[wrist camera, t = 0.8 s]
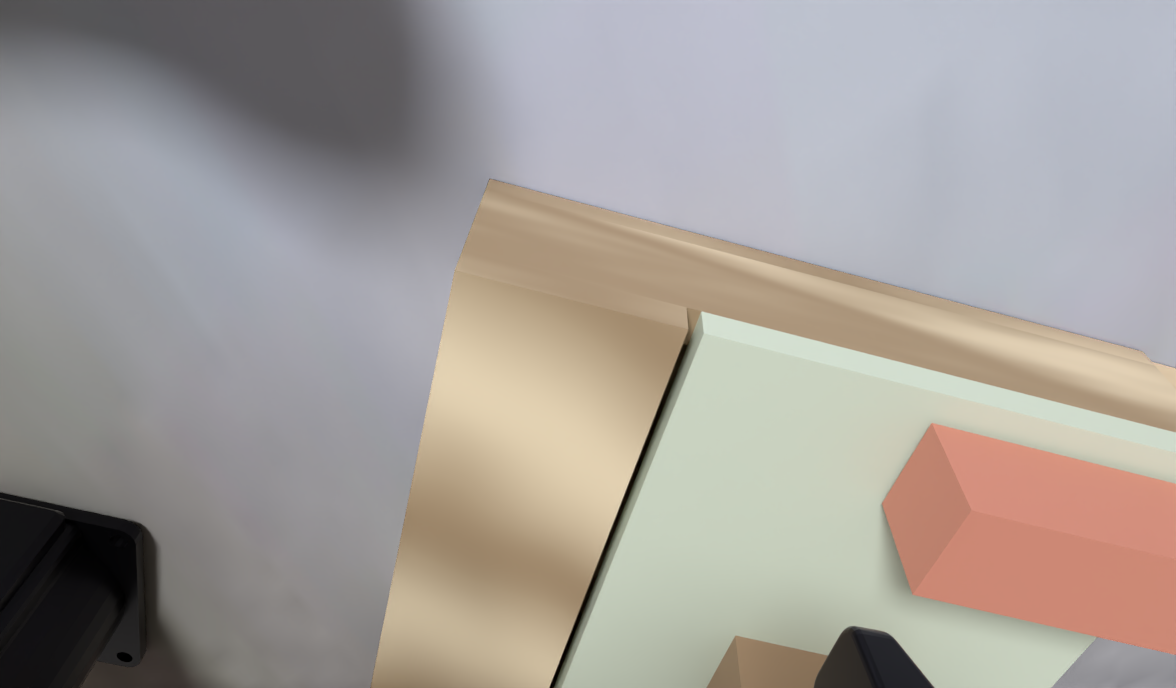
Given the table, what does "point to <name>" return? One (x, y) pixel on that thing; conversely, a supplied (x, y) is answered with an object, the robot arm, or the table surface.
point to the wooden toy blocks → (631, 410)
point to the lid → (810, 521)
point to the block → (1038, 537)
